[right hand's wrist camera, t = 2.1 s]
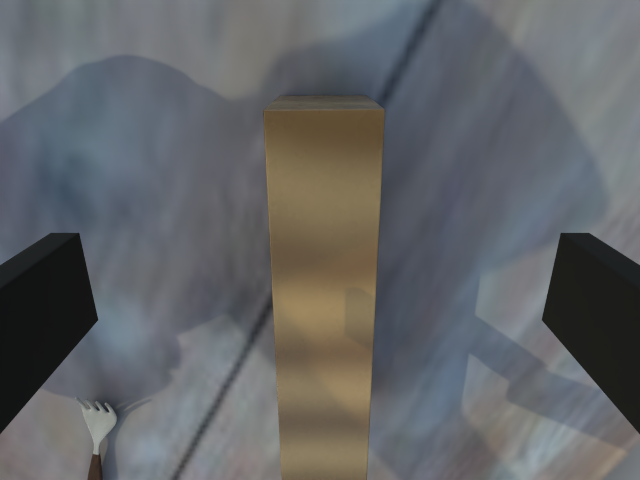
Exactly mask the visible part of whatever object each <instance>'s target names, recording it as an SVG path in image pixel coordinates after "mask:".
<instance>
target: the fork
mask: <svg viewBox="0 0 640 480" xmlns="http://www.w3.org/2000/svg"><path fill="white" fill-rule="evenodd" d="M75 400H76V401H77V402H78V403H79V404H80V406H81V408H82V411H83V416H84V419H85V421H86V424H87V426H88V428H89V430H90V433H91V435H92V438H93V441H94V451H93V456H92V460H91V465H90V469H89V474H88V480H102V467H101V458H100V443H101V441H102V440H103V438H104V437H105V436H106V435H107V434H108V433H109V432H110V431H111V430H112V428H113V427H114V426H115V424H116V422H117V416H116V414H115V412H114V410H113V409H112V408H111V406H110V405H109V404H108V403H107V402H106V403H105V405H106V406H107V408H108V410H109V412H107V411H106V410H105V409H104V408H103V407H102V405H101V404H100V403H99V402H98V401H95V403H96V404H97V406H98V407H99V409H100V411H98V410H97V409H96V408H95V407H94V406H93V404H92V403H91V402H90V401H89V400H88V399H86V400H85V402H86V403H87V404H88V405H89V406H90V408H91V409H88V408H87V407H86V406H85V404H84V403H83V402H82V401H81V400H80V399H79V398H77V397H75Z"/></svg>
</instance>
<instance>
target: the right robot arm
mask: <svg viewBox="0 0 640 480" xmlns="http://www.w3.org/2000/svg"><path fill="white" fill-rule="evenodd" d="M97 321H98V317H97V313H96V308H95V303H94V299H93V294H92V290H91V285H90V281H89V276H88V271H87V267H86V262H85V258H84V253H83V249H82V244H81V239H80V235H79V233H50V234H49V235H47V236H45V237H44V238H42V239H41V240H39V241H38V242H36V243H34V244H33V245H31V246H30V247H28V248H27V249H25V250H24V251H22V252H20V253H19V254H17V255H16V256H14V257H13V258H11V259H9V260H8V261H6V262H5V263H3V264H2V265H0V434H1V433H2V431H3V430H4V429H5V428H6V427H7V426H8V424H9V423H10V422H11V421H12V420H13V419H14V417H15V416H16V415H17V414H18V413H19V412H20V410H21V409H22V408H23V407H24V406H25V405H26V403H27V402H28V401H29V400H30V399H31V398H32V396H33V395H34V394H35V393H36V392H37V391H38V389H39V388H40V387H41V386H42V385H43V384H44V382H45V381H46V380H47V379H48V378H49V377H50V375H51V374H52V373H53V372H54V371H55V370H56V368H57V367H58V366H59V365H60V364H61V363H62V361H63V360H64V359H65V358H66V357H67V356H68V354H69V353H70V352H71V351H72V350H73V349H74V347H75V346H76V345H77V344H78V343H79V342H80V341H81V339H82V338H83V337H84V336H85V335H86V334H87V332H88V331H89V330H90V329H91V328H92V327H93V325H94V324H95V323H96V322H97ZM542 321H543V322H544V323H545V324H546V325H547V327H548V328H549V329H550V330H551V331H552V332H553V334H554V335H555V336H556V337H557V338H558V339H559V341H560V342H561V343H562V344H563V345H564V346H565V347H566V349H567V350H568V351H569V352H570V353H571V354H572V356H573V357H574V358H575V359H576V360H577V361H578V363H579V364H580V365H581V366H582V367H583V368H584V370H585V371H586V372H587V373H588V374H589V375H590V377H591V378H592V379H593V380H594V381H595V382H596V384H597V385H598V386H599V387H600V388H601V389H602V391H603V392H604V393H605V394H606V395H607V396H608V398H609V399H610V400H611V401H612V402H613V403H614V405H615V406H616V407H617V408H618V409H619V410H620V412H621V413H622V414H623V415H624V416H625V417H626V419H627V420H628V421H629V422H630V423H631V424H632V426H633V427H634V428H635V429H636V430H637V431H638V433H639V434H640V265H638V264H637V263H635V262H634V261H632V260H631V259H629V258H627V257H626V256H624V255H623V254H621V253H620V252H618V251H616V250H615V249H613V248H612V247H610V246H609V245H607V244H606V243H604V242H602V241H601V240H599V239H598V238H596V237H595V236H593V235H591V234H590V233H561V235H560V239H559V244H558V249H557V253H556V258H555V262H554V267H553V271H552V276H551V281H550V285H549V290H548V294H547V299H546V303H545V308H544V313H543V317H542Z"/></svg>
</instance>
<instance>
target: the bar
mask: <svg viewBox="0 0 640 480" xmlns="http://www.w3.org/2000/svg"><path fill="white" fill-rule="evenodd" d="M263 117H264V137H265V156H266V176H267V196H268V216H269V236H270V256H271V275H272V295H273V315H274V335H275V355H276V375H277V394H278V414H279V434H280V454H281V474H282V480H367V464H368V444H369V424H370V404H371V384H372V364H373V343H374V323H375V303H376V283H377V263H378V243H379V223H380V202H381V182H382V162H383V142H384V122H385V109H384V108H382V107H381V106H380V105H378V104H377V103H376V102H374V101H373V100H372V99H370V98H369V97H368V96H366V95H313V96H279V97H278V98H277V99H276V100H274V101H273V102H272V103H271V104H270V105H269V106H267V107H266V108H265V109H264V110H263Z"/></svg>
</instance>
